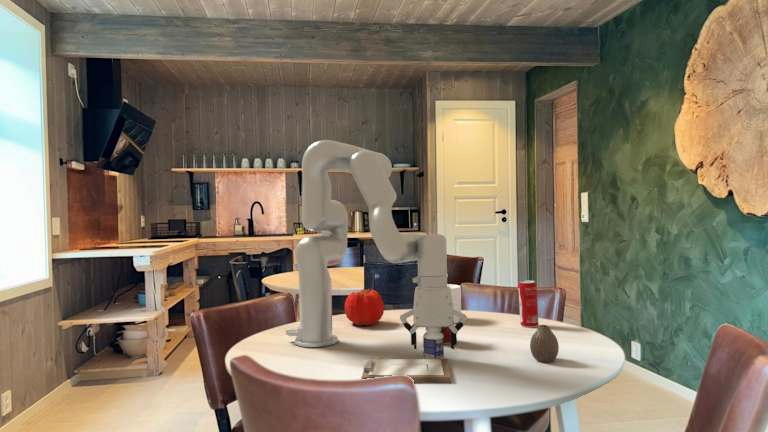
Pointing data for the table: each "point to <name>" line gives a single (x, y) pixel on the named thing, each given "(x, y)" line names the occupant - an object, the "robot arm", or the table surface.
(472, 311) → the table surface
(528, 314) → the beverage can
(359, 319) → the tomato
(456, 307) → the cup
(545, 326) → the vase
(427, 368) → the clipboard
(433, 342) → the pill bottle
